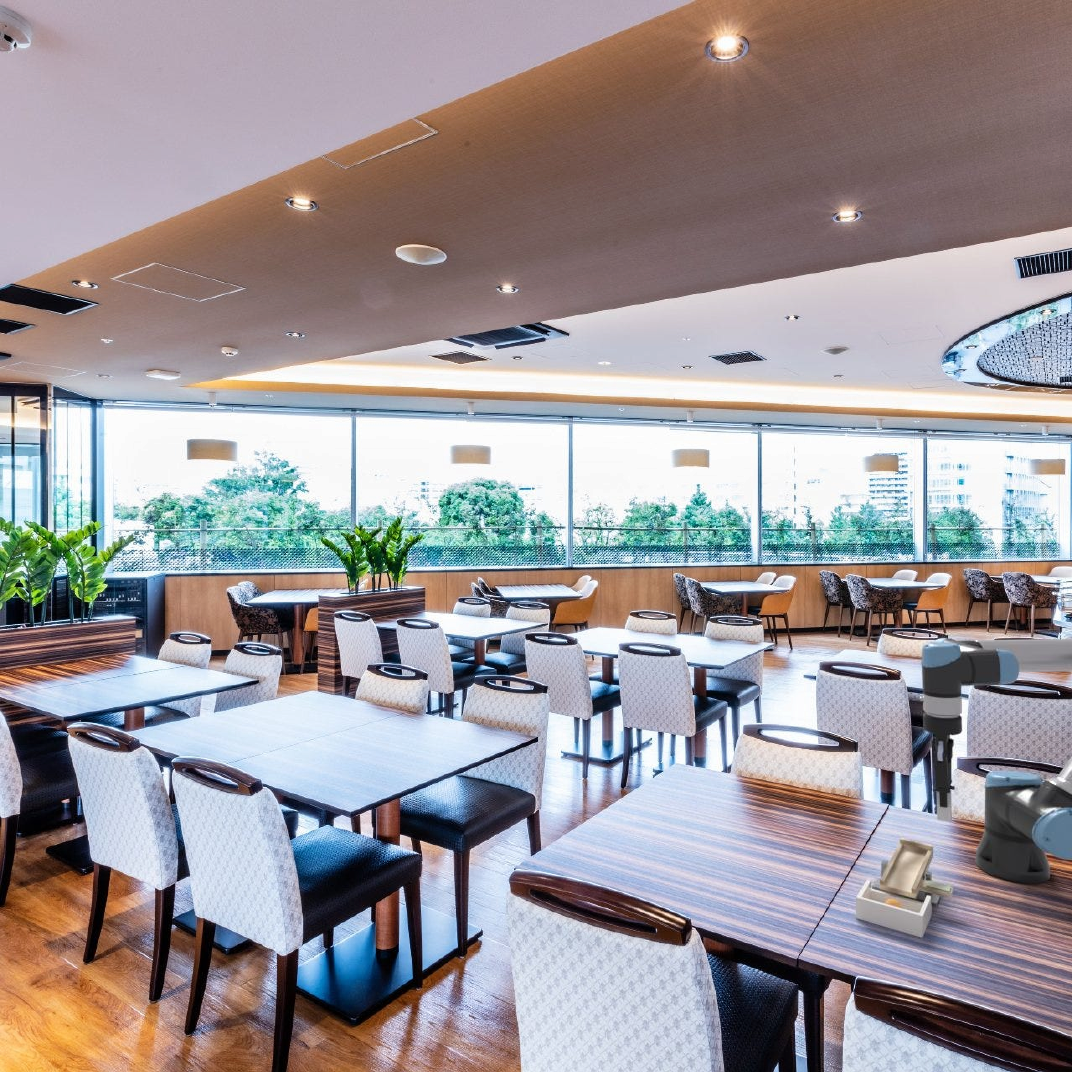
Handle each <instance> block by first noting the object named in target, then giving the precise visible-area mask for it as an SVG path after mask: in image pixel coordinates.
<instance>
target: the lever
mask: <svg viewBox="0 0 1072 1072" xmlns="http://www.w3.org/2000/svg"><path fill="white" fill-rule="evenodd" d="M933 858H934V844H929V843H925V842H921V841H916V840H912V839H908V838H905V837H904V838H903V837H900V838H899V842H898V844H897V846H896V849H895V850H894V852H893V855H892V856H891V858H890V860H889V862H888V866H887V868H886V870H885V872H884V873H883V875H882V877H881V876H880V889H882V890H886V891H889V892H893V893H897V894H900V895H904V896H908V897H911V898H915V899H916V897H917V894H918V892H919V890H921V891H925V892H929V893H932V894H936V895H940V897H944V898H948V899H951V898H952V896H953V893H954V887H952V885H949V884H944V883H940V882H935V881H933V880H932V881H929V880H928V881H926V880H925V874H926V872H927V871H928V870H929V867H930V865H931V863H932V860H933Z"/></svg>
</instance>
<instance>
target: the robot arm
mask: <svg viewBox="0 0 1072 1072" xmlns="http://www.w3.org/2000/svg"><path fill="white" fill-rule="evenodd" d="M920 665H921V673H922V676H921V677H922V678H921V679H922V681H921V682H922V696H920V697H919V701H920V702H923V703H922V710H923V711H924V713H923V714H922V721H923V723H922V726H923V727H922V728H923V730H925V732H928V733H930V734H933V735H934V736H933V738H932V740H931V749H932V756H933V757H932V758H933V760H934V762H933V763H934V766H933V767H934V778H935V779H934V781H935V787H933V788H932V791H933V792H936V815H937V816H936V819H937V821H941V822H947V823H948V822H949V823H952V822H953V821H952V820H953V816H952V815H953V813H952V811H953V810H952V791H955V789H956V787H955V785H952V783H953V779H952V771H953V770H952V767H953V766H952V760H953V755H954V754H953V753H954V752H953V748H954V745H955V743H954V739H953V738H951V736H957V735H960V734H961V733H962V732H963V719H962V718H963V717H962V716H961V714H962V712H963V700H962V699H963V698H962V697H963V696H962V687H969V686H1002V685H1008V684H1009V685H1010V684H1013V683H1015V682H1016V681H1017V680H1018V677H1019V676H1020V673H1025V672H1026V673H1027V672H1032V673H1033V672H1042V673H1043V672H1044V673H1045V672H1072V638H1058V639H1057V638H1051V639H1050V638H1049V639H1048V638H1047V639H1045V638H1044V639H1040V638H1037V639H988V640H987V639H984V640H983V639H981V640H977V639H975V640H966V639H965V640H956V639H953V638H946V637H941V638H938V639H936V640H934V641H928V642H926V643H924V644H923V645H922V650H921V661H920ZM983 787H984V830H983V834H982V837H981V839H980V841H979V844H978V846H977V848H976V850H975V859H974V860H975V861H974V862H975V864H976V866H977V867H978V868H979V869H981V870H982V871H984V872H985V873H987V874H989V875H991V876H993V877H996V878H999V879H1002V880H1005V881H1010V882H1014V883H1020V884H1029V885H1030V884H1031V885H1032V884H1033V885H1034V884H1042V883H1043V884H1044V883H1046V882H1048V881H1049V880H1050V879H1051V867H1050V862H1049V860H1048V857H1047V855H1046V854H1050V855H1052V856H1054V857H1055V858H1058V859H1062V860H1068V861H1069V860H1070V861H1071V860H1072V756H1071V757H1070V758H1069V759H1068V761H1067V762H1066V763H1065V765H1064V767H1063V768H1062V770H1061V771H1060V772H1059V774H1058V775H1057V776H1056V777H1051V778H1046V779H1044V780H1043V778H1042V777H1041V776H1039V775H1038V774H1034V773H1032V772H1031V773H1030V772H1024V771H1017V770H992V771H989V772H988V773H987V774H986V776H985V780H984V786H983Z"/></svg>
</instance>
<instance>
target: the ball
mask: <svg viewBox="0 0 1072 1072" xmlns="http://www.w3.org/2000/svg"><path fill="white" fill-rule="evenodd" d="M885 904H888V905H892V906H895V907H899V908H902V906H901V904H900V903H899V902H898V901H897V900H895V899H888V900H887V901H886V902H885Z"/></svg>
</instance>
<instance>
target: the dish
mask: <svg viewBox="0 0 1072 1072" xmlns="http://www.w3.org/2000/svg"><path fill="white" fill-rule="evenodd" d="M888 899H895V900H897V901H898V902H899V903H900V904H901V906H902V908H899V907H895V906H892V905H888V904H885V902H886V901H887V900H888ZM932 908H933V905H931V896H928V895H927V897H926V899H925V901H924V903H922V902H919V901H915V900H911V899H908V898H904V897H900V896H897V895H893V894H889V893H886V892H882V891H878V890H875V889H872V880H871V879H868V878H867V879H866V881H865V883H864V884H863V886H862V888H861V889H860V891H859V892H858V893H857V895H856V897H855V919H858V920H861V921H865V922H868V923H870V924H874V925H878V926H881V927H885V928H888V929H891V930H893V931H894V930H895V931H897V932H901V933H905V934H908V935H910V936H915V937H918V938H921V939H922V938H923V937H924V934H925V933H926V930H927V928H928V925H929V923H930V921H931V918H932V915H933V914H932V913H933V912H932V910H933V909H932Z"/></svg>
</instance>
